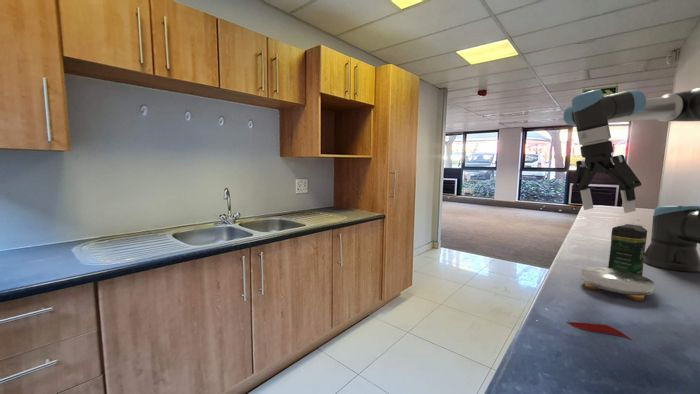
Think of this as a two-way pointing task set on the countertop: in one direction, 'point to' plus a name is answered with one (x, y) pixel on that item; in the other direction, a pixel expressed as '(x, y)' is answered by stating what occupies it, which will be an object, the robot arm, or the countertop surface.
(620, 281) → the plate
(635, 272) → the coffee jar
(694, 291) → the countertop surface
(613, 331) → the curved red sliver
